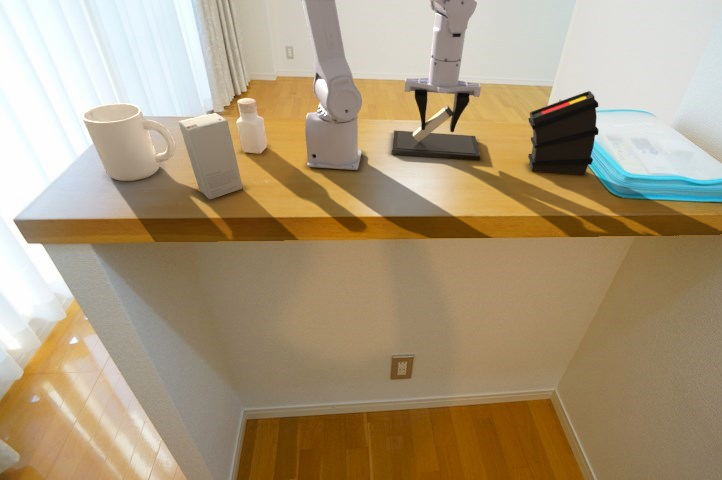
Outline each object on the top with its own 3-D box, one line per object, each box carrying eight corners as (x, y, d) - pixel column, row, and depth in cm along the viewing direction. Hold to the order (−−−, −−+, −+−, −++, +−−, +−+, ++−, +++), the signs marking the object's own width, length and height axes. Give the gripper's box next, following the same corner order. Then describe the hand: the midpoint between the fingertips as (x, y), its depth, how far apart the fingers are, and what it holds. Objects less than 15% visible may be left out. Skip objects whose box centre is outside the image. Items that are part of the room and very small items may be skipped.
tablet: (391, 154, 84) (391, 149, 83) (393, 134, 91) (393, 129, 91) (479, 160, 84) (480, 155, 83) (474, 140, 92) (475, 135, 91)
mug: (187, 158, 77) (170, 103, 71) (177, 180, 71) (158, 121, 65) (116, 160, 75) (92, 103, 69) (100, 183, 69) (72, 123, 62)
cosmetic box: (232, 179, 73) (216, 110, 65) (244, 190, 70) (229, 119, 62) (197, 190, 69) (176, 119, 61) (209, 202, 67) (188, 129, 59)
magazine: (605, 170, 80) (597, 96, 71) (536, 191, 84) (521, 123, 75) (598, 161, 83) (590, 89, 74) (532, 182, 87) (517, 115, 78)
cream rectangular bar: (412, 136, 85) (448, 107, 82) (412, 133, 87) (447, 104, 83) (418, 142, 86) (453, 114, 83) (418, 139, 88) (452, 111, 84)
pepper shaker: (241, 152, 81) (231, 103, 74) (249, 144, 84) (240, 96, 77) (260, 155, 80) (252, 105, 74) (268, 146, 83) (261, 98, 77)
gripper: (406, 60, 73) (401, 134, 82) (487, 66, 73) (474, 139, 82) (407, 50, 79) (402, 120, 87) (483, 56, 79) (470, 125, 88)
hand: (437, 129), depth 85 cm, fingers closed on cream rectangular bar, 5 cm apart
